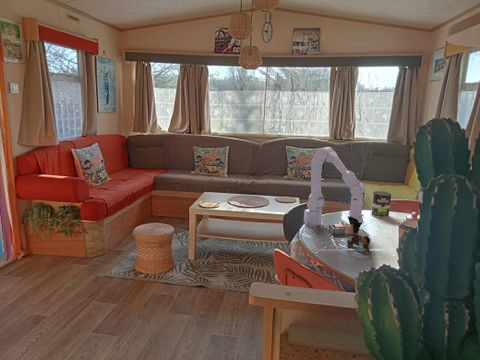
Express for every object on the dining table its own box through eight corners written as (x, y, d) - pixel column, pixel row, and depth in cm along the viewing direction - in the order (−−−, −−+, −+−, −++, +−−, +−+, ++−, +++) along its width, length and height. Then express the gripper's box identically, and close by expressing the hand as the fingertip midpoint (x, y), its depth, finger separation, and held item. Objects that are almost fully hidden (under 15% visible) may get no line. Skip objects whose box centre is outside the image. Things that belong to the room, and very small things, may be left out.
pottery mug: (363, 258, 158) (354, 241, 159) (348, 259, 166) (340, 243, 167) (379, 245, 164) (371, 229, 165) (364, 247, 172) (356, 232, 173)
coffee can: (390, 218, 211) (393, 195, 208) (372, 217, 213) (375, 194, 210) (386, 213, 221) (389, 191, 218) (369, 212, 223) (371, 190, 220)
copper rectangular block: (335, 233, 183) (336, 226, 182) (333, 231, 186) (333, 224, 185) (358, 233, 184) (358, 226, 183) (355, 231, 187) (356, 224, 186)
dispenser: (333, 238, 180) (334, 224, 178) (327, 231, 190) (328, 218, 188) (370, 237, 181) (371, 224, 179) (362, 230, 191) (363, 218, 189)
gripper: (369, 210, 175) (367, 236, 178) (358, 202, 189) (356, 226, 192) (355, 210, 175) (353, 236, 178) (345, 202, 189) (343, 226, 192)
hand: (354, 231), depth 185 cm, fingers closed on copper rectangular block, 3 cm apart
